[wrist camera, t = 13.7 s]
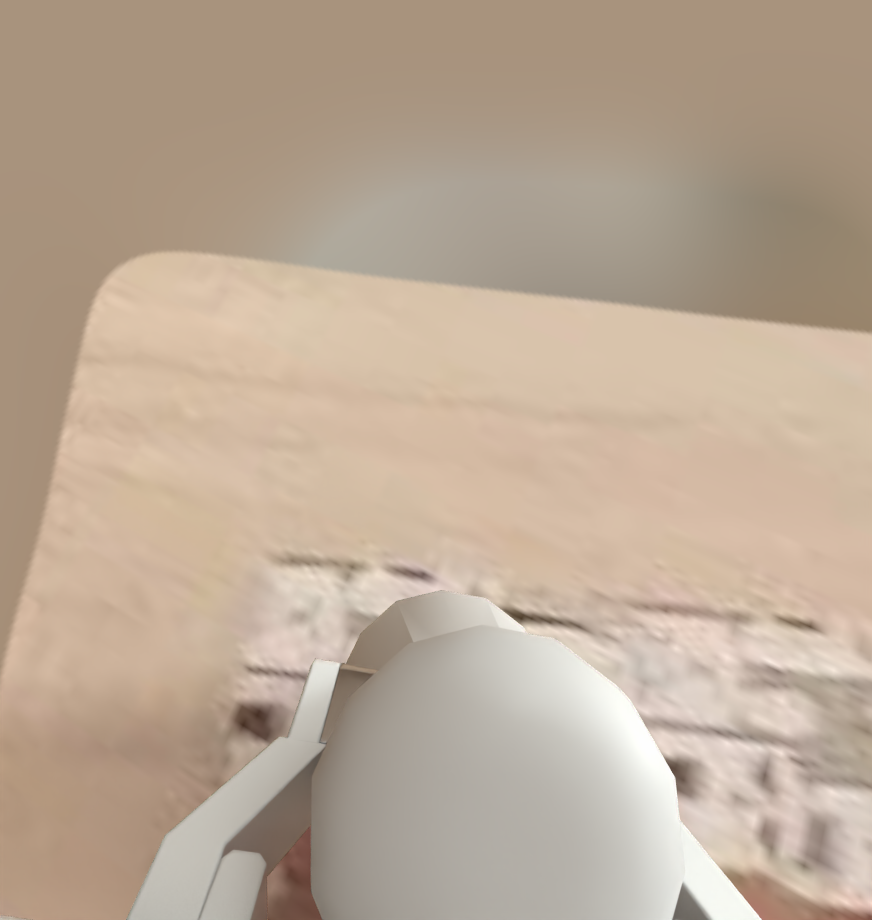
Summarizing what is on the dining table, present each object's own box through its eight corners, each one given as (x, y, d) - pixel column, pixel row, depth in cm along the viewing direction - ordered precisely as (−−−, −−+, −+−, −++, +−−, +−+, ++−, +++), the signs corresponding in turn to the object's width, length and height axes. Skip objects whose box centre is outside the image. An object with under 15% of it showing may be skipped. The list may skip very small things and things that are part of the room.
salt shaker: (309, 708, 18) (76, 922, 6) (421, 558, 19) (440, 456, 7) (462, 834, 17) (593, 1406, 5) (568, 669, 19) (889, 786, 6)
